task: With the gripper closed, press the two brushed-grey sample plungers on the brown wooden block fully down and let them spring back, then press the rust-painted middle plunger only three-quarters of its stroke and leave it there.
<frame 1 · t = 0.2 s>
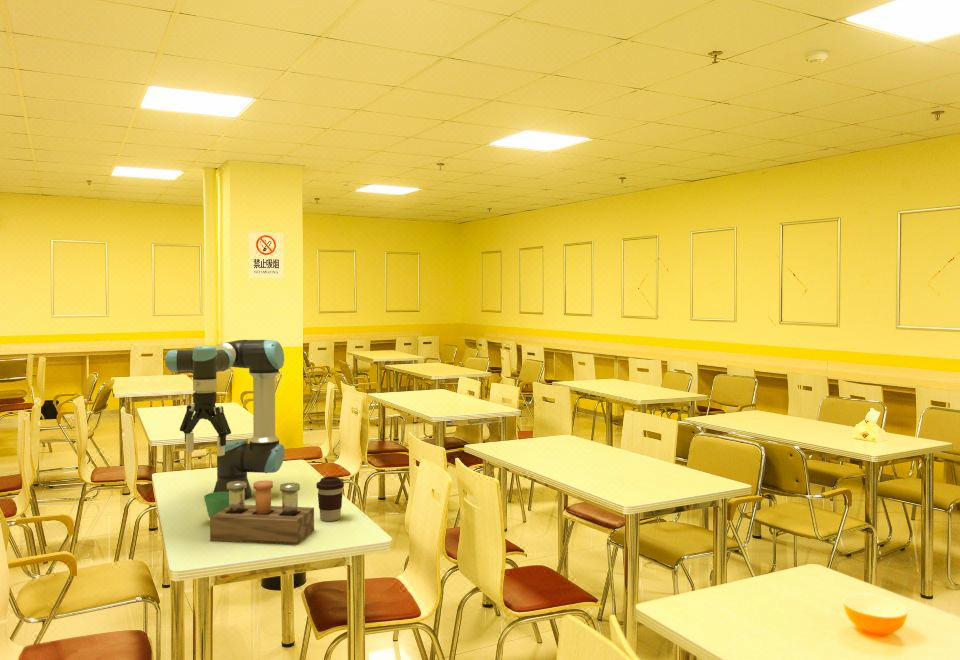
hand: (205, 454, 245), 28 cm above the table, fingers open, 13 cm apart
coffee cup: (330, 519, 266), on the table
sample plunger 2: (289, 500, 244), point 12 cm above the table, slide at 0.4 cm
brown wooden block: (263, 535, 246), on the table
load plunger: (263, 498, 245), point 13 cm above the table, slide at 0.0 cm
mug: (224, 521, 262), on the table
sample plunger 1: (236, 498, 247), point 12 cm above the table, slide at 0.4 cm
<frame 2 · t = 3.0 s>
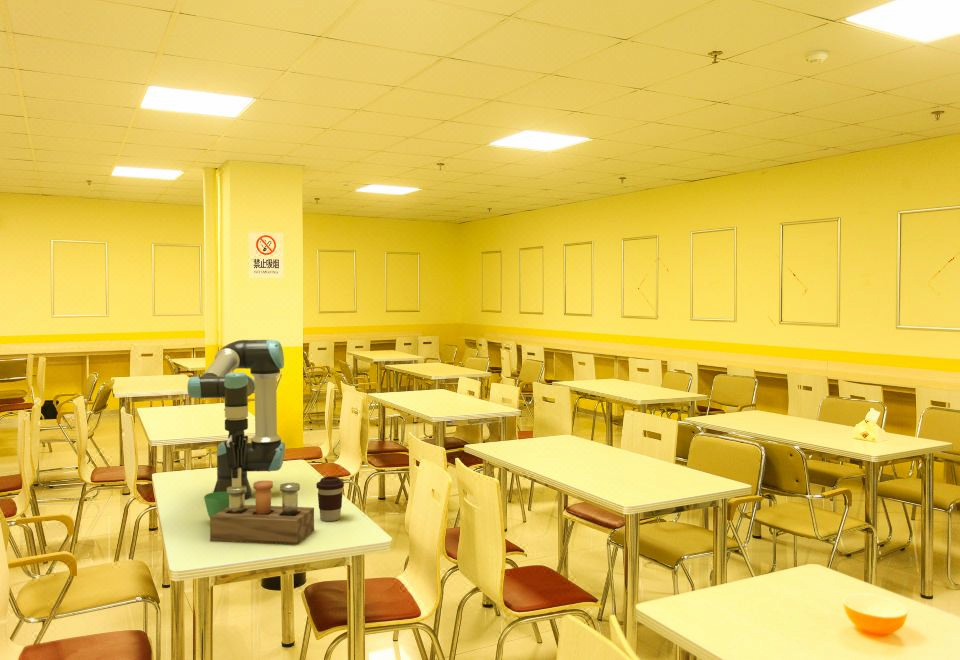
hand: (236, 487, 246), 16 cm above the table, fingers closed
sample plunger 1: (236, 503, 247), point 11 cm above the table, slide at 2.0 cm, touching gripper
everything else where it was.
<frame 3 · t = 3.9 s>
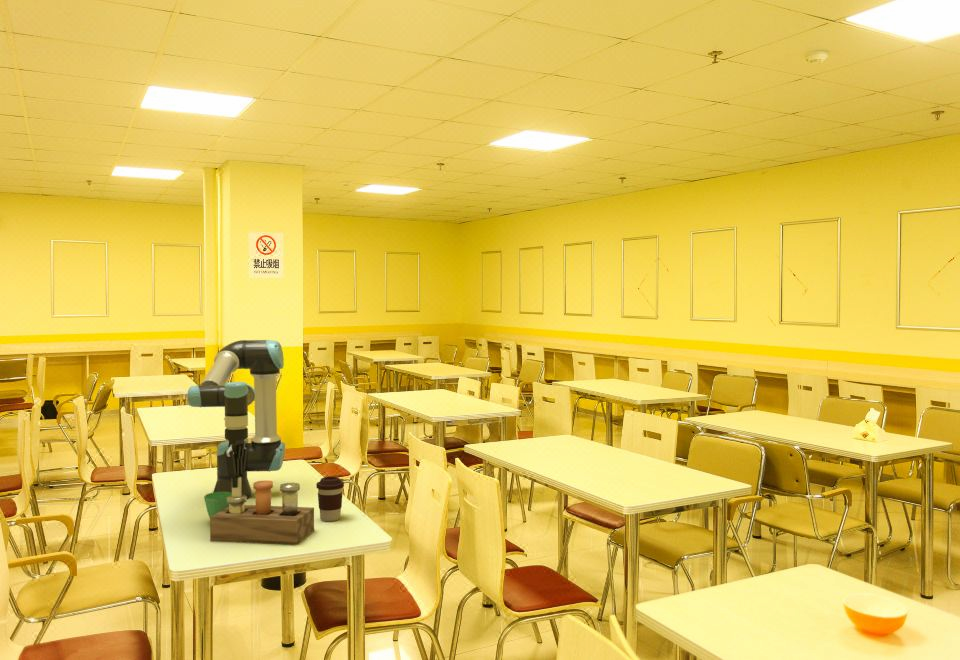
hand: (236, 496, 246), 13 cm above the table, fingers closed
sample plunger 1: (236, 512, 247), point 8 cm above the table, slide at 5.2 cm, touching gripper
everything else where it was.
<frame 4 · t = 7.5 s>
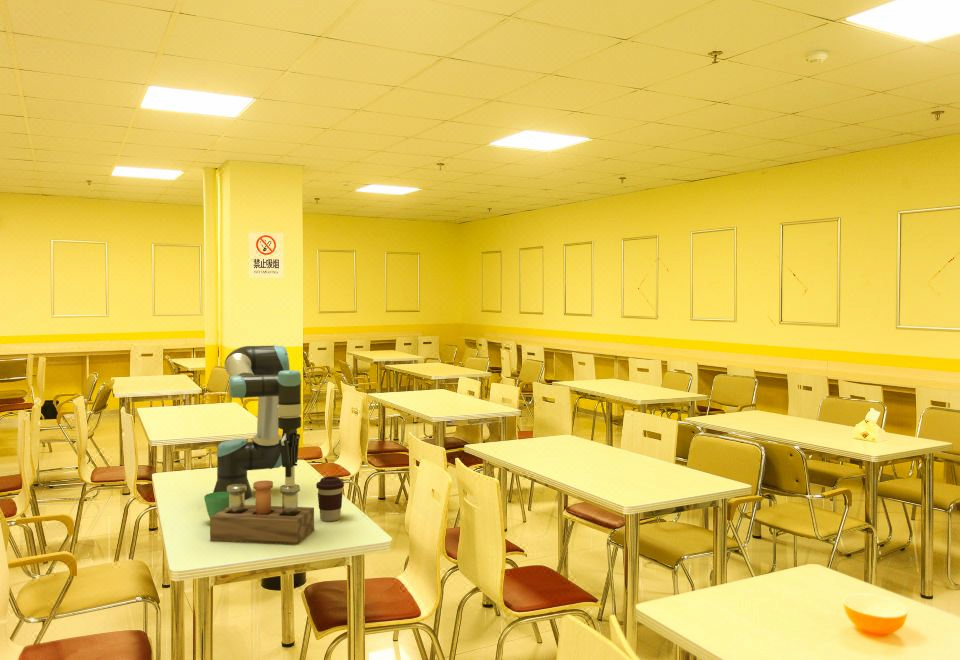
hand: (289, 485, 244), 17 cm above the table, fingers closed
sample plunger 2: (289, 501, 244), point 12 cm above the table, slide at 0.9 cm, touching gripper
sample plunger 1: (236, 501, 247), point 11 cm above the table, slide at 1.5 cm
everything else where it was.
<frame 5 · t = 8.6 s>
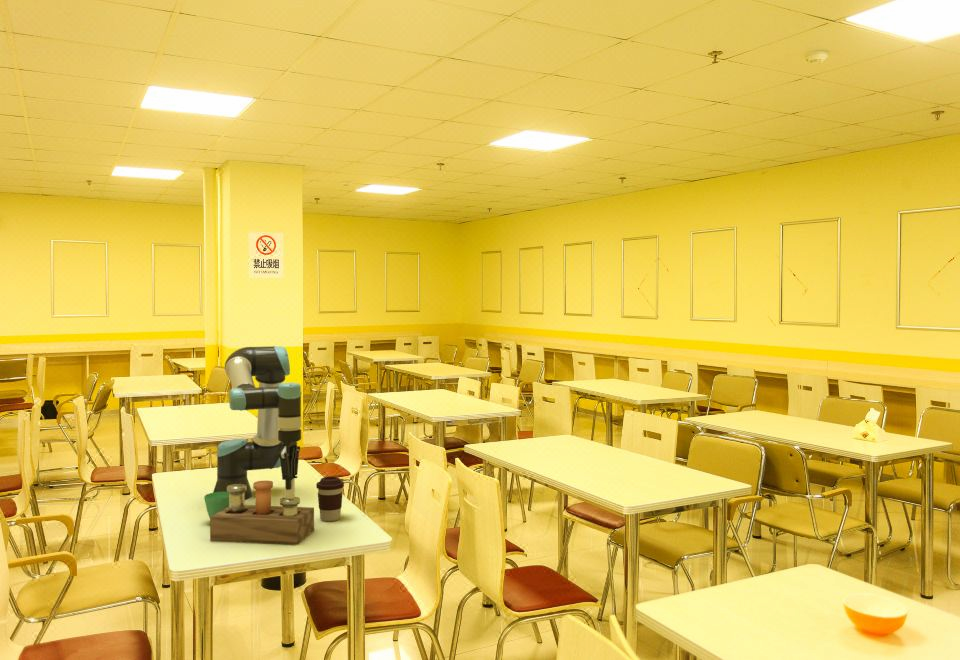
hand: (290, 498, 244), 13 cm above the table, fingers closed
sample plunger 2: (290, 514, 244), point 8 cm above the table, slide at 5.2 cm, touching gripper
everything else where it was.
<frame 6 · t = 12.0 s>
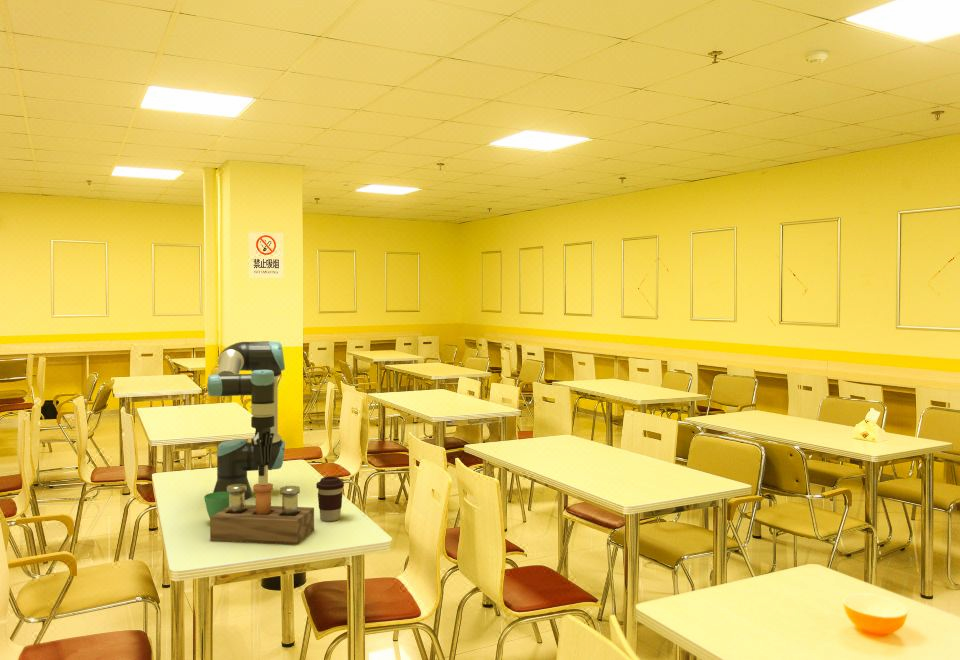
hand: (263, 484, 245), 18 cm above the table, fingers closed
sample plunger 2: (289, 503, 244), point 11 cm above the table, slide at 1.5 cm
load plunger: (263, 500, 245), point 12 cm above the table, slide at 0.9 cm, touching gripper
everything else where it was.
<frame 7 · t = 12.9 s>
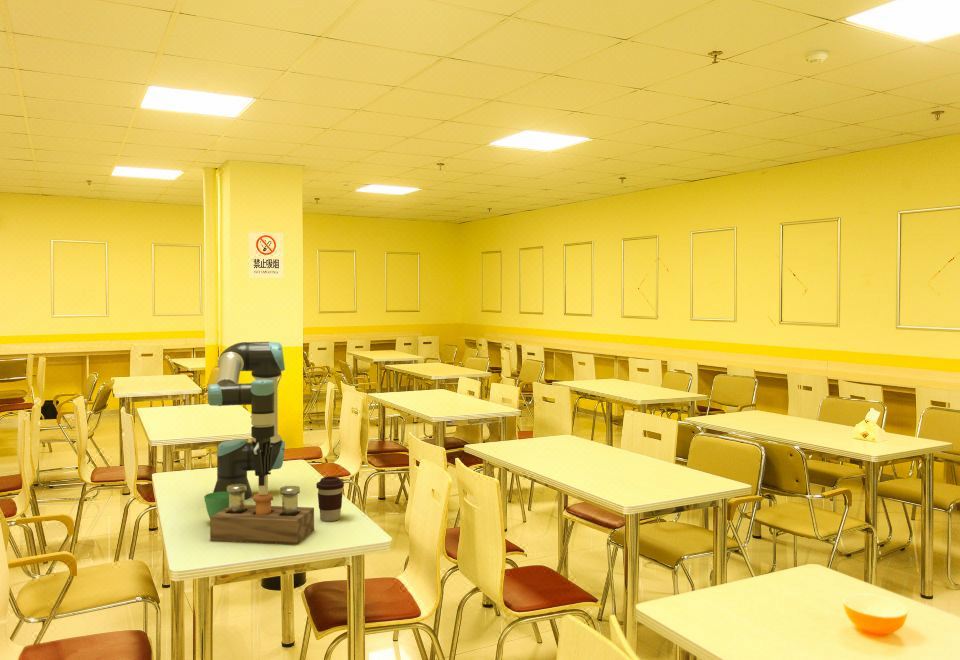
hand: (263, 494, 245), 14 cm above the table, fingers closed
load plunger: (263, 510, 246), point 9 cm above the table, slide at 4.2 cm, touching gripper
everything else where it was.
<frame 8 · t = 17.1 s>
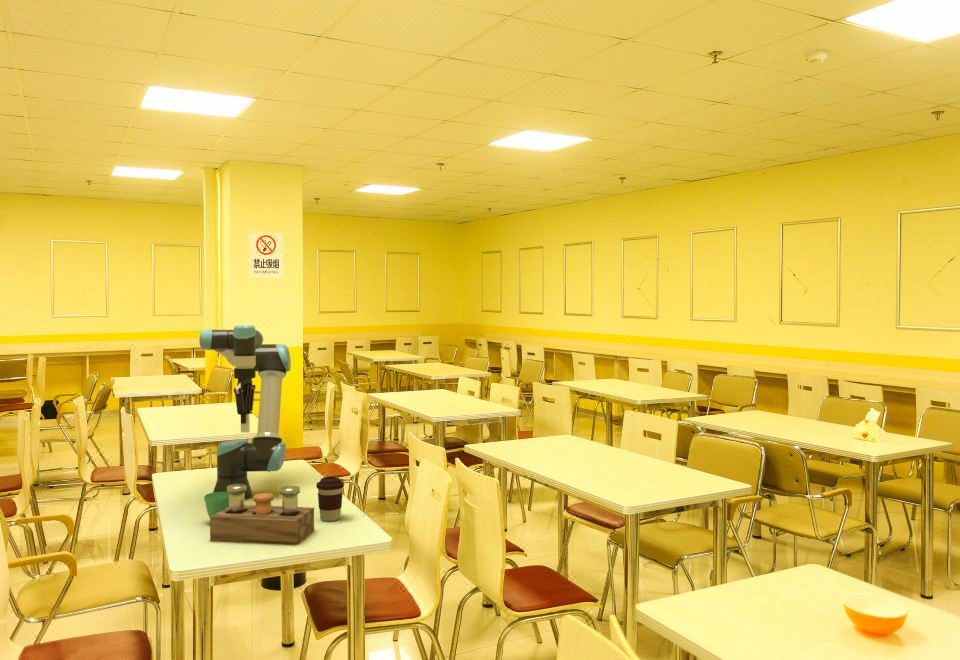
hand: (245, 432, 263), 32 cm above the table, fingers closed
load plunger: (263, 510, 246), point 9 cm above the table, slide at 4.3 cm
everything else where it was.
at the end: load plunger slide at 4.3 cm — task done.
